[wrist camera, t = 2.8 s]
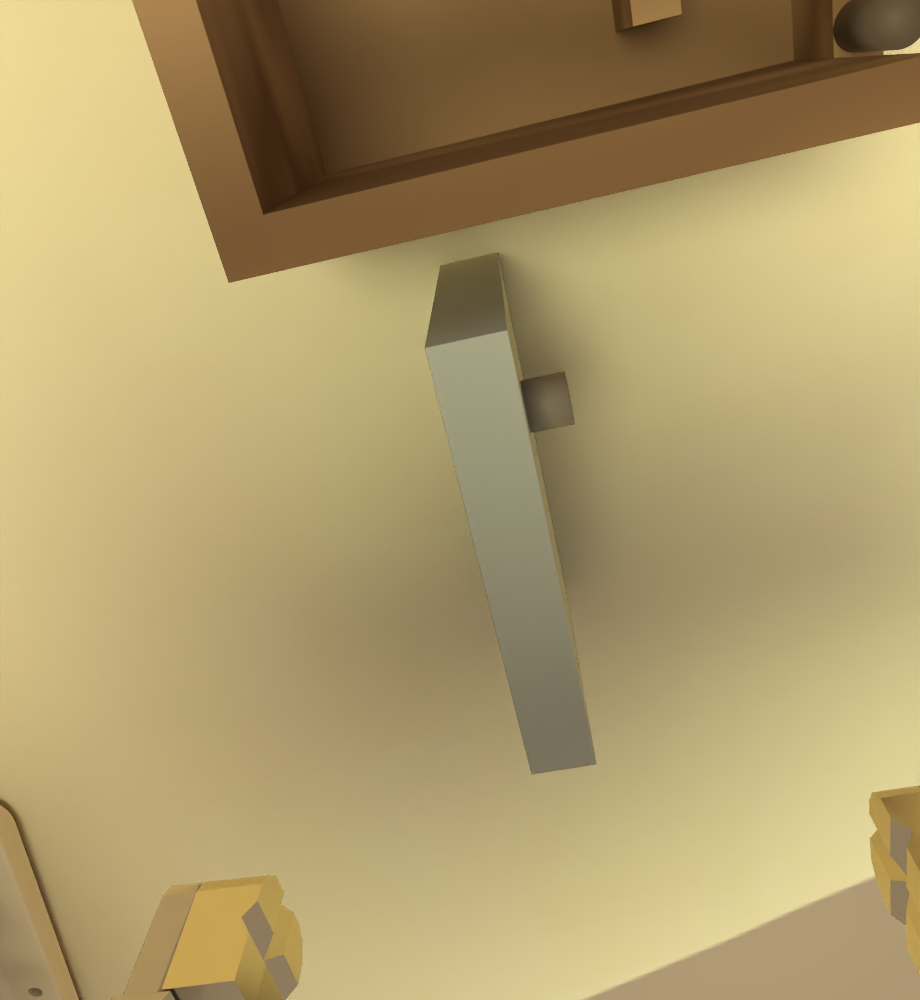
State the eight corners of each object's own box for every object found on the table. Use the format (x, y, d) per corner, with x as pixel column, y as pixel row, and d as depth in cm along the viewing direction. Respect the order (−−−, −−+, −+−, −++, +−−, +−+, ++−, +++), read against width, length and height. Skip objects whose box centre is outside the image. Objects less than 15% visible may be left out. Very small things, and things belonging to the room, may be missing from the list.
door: (595, 582, 28) (637, 757, 21) (517, 596, 28) (531, 774, 21) (533, 243, 23) (560, 318, 16) (440, 265, 23) (424, 348, 16)
